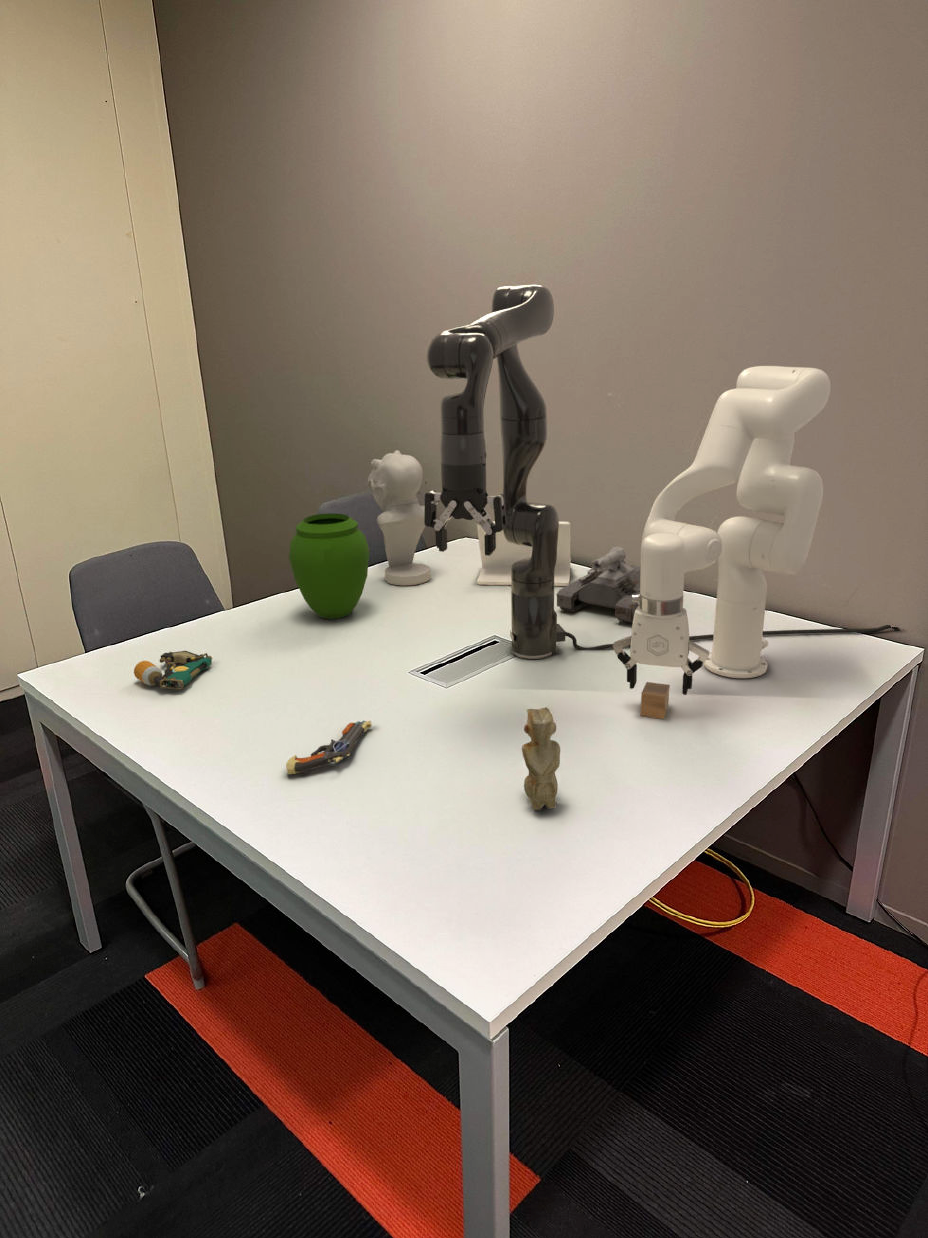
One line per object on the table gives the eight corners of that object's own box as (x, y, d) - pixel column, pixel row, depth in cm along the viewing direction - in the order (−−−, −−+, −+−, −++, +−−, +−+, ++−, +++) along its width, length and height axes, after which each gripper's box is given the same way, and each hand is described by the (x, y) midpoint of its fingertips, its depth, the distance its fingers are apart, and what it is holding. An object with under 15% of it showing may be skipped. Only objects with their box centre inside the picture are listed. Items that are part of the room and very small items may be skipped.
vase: (389, 608, 216) (383, 514, 208) (339, 633, 201) (330, 533, 192) (330, 596, 226) (322, 506, 218) (278, 619, 211) (267, 523, 202)
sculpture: (556, 787, 135) (557, 702, 130) (563, 813, 129) (564, 724, 123) (519, 789, 135) (519, 704, 130) (524, 815, 129) (524, 726, 123)
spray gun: (177, 659, 191) (231, 671, 185) (120, 684, 176) (176, 698, 171) (176, 641, 190) (230, 653, 184) (118, 665, 175) (174, 678, 169)
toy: (603, 584, 229) (605, 530, 224) (673, 597, 218) (677, 540, 213) (555, 612, 210) (556, 553, 205) (630, 627, 199) (633, 566, 194)
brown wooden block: (645, 704, 162) (646, 681, 161) (668, 707, 161) (669, 684, 159) (640, 716, 158) (641, 692, 156) (664, 719, 156) (665, 696, 155)
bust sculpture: (408, 559, 256) (402, 442, 244) (444, 580, 236) (440, 453, 224) (358, 568, 250) (349, 447, 237) (391, 590, 230) (383, 460, 217)
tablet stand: (569, 585, 229) (570, 524, 223) (476, 584, 232) (475, 523, 226) (570, 566, 246) (571, 508, 240) (484, 564, 249) (483, 507, 243)
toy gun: (281, 764, 140) (338, 761, 138) (320, 718, 158) (372, 715, 156) (284, 779, 141) (341, 777, 139) (323, 732, 159) (374, 729, 156)
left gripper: (415, 461, 142) (419, 555, 147) (496, 464, 137) (497, 562, 142) (433, 453, 148) (436, 543, 154) (510, 456, 143) (511, 549, 149)
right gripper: (608, 606, 152) (608, 692, 158) (708, 615, 146) (704, 703, 152) (617, 592, 158) (617, 674, 165) (714, 599, 152) (709, 685, 159)
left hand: (465, 552), depth 148 cm, fingers open, 8 cm apart
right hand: (658, 688), depth 159 cm, fingers open, 9 cm apart
